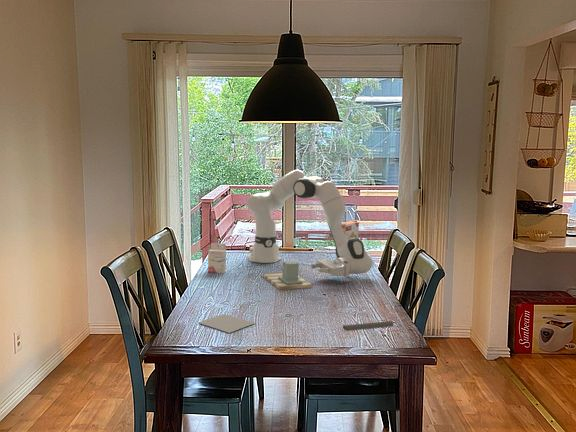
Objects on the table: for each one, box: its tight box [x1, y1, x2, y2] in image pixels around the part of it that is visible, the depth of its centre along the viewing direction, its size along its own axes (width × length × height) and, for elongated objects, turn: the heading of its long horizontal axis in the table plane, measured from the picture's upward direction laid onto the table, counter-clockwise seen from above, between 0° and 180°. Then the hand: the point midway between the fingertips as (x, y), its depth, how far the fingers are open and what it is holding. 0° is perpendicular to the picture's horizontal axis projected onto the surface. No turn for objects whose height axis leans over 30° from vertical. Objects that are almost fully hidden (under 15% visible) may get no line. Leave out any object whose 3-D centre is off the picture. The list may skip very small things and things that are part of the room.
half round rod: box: [342, 320, 394, 331], centre depth 212 cm, size 4×20×2 cm, turn 107°
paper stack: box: [197, 313, 255, 334], centre depth 213 cm, size 23×25×1 cm
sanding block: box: [278, 260, 303, 285], centre depth 269 cm, size 12×8×9 cm, turn 20°
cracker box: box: [342, 220, 360, 241], centre depth 329 cm, size 14×6×21 cm, turn 141°
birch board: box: [262, 271, 313, 291], centre depth 274 cm, size 26×16×2 cm, turn 20°
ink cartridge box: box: [207, 242, 227, 274], centre depth 291 cm, size 9×5×15 cm, turn 84°
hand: (315, 268), depth 273 cm, fingers open, 8 cm apart
